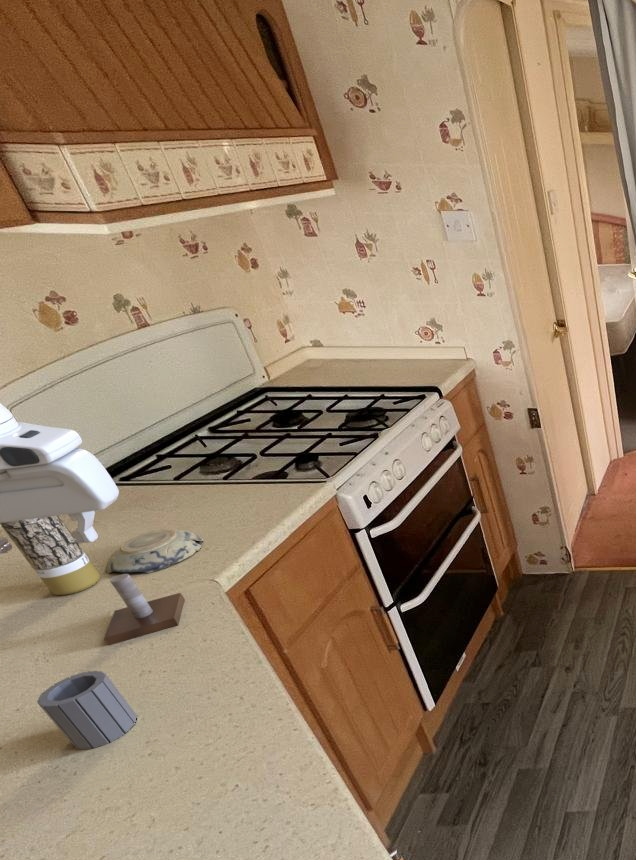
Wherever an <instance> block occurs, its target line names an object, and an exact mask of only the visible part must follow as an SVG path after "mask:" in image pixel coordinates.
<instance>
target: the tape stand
mask: <svg viewBox="0 0 636 860" xmlns="http://www.w3.org/2000/svg"><path fill="white" fill-rule="evenodd" d="M109 582H110V583H111V585H112V586H113V588H114V590H115V591H116V592H117V594H118V595H119V597H120V598H121V600H122V601H123V602H124V604H125V606H126V607H123V608H122V607H121V608H119V609H115V610H114V611H113V614H112V617H111V619H110V622H109V624H108V627H107V629H106V631H105V634H104V637H103V639H104V640H105V642H106V644H107V645H108V646H111V645H115V644H118V643H121V642H125V641H128V640H131V639H135V638H139V637H142V636H145V635H149V634H152V633H156V632H159V631H163V630H166V629H169V628H174V627H177V626H179V624H180V621H181V616H182V613H183V608H184V603H185V600H186V599H185V597H184V595H183V594H182V592H177V593H174V594H171V595H166V596H162V597H159V598H155V599H152V600H148V601H147V599H146V598H145V595H143V594H142V591H140V588H139V587H138V586H137V585H136V583H135V581H134V580H133V578H132V576H131V575H130V574H129V573H122V574H118V575H115V576H113V577H112V578H111V579H110V580H109Z"/></svg>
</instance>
